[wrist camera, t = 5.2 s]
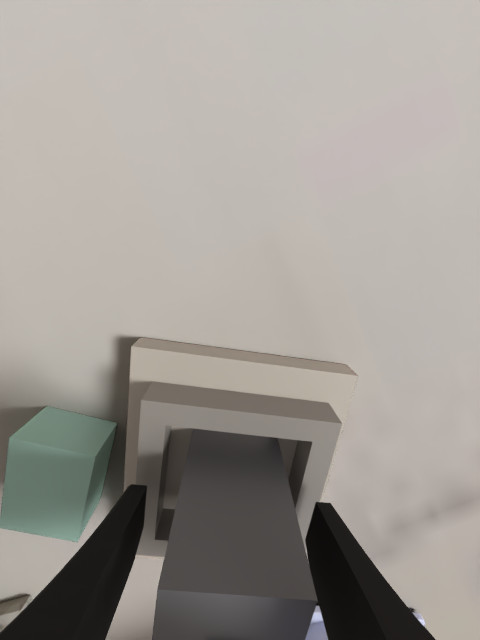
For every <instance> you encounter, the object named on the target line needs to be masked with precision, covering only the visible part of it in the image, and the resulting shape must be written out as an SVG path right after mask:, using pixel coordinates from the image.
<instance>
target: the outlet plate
mask: <svg viewBox="0 0 480 640" xmlns="http://www.w3.org/2000/svg"><path fill="white" fill-rule="evenodd" d="M357 379H358V375H357V374H356V373H355V372H354V371H353V370H352V369H351V368H350V367H349V366H348V365H345V364H337V363H330V362H322V361H315V360H307V359H300V358H292V357H285V356H277V355H270V354H262V353H255V352H247V351H240V350H232V349H225V348H217V347H210V346H202V345H195V344H187V343H180V342H172V341H165V340H157V339H150V338H142V337H141V338H140V339H138V340H137V341H136V342H135V343H134V344H133V345H132V346H131V360H130V378H129V397H128V416H127V434H126V453H125V472H124V490H123V493H124V492H125V490H126V489H127V487H128V486H129V485H131V484H135V485H146V486H147V494H146V506H145V519H144V528H143V531H142V535H141V538H140V542H139V546H138V549H137V553H136V556H135V557H137V558H150V559H163V560H164V558H165V553H166V549H167V544H168V540H169V535H170V531H171V526H172V521H173V517H174V512H175V508H176V503H177V499H178V494H179V490H180V485H181V481H182V476H183V472H184V467H185V462H186V458H187V453H188V449H189V444H190V440H191V435H192V431H193V429H202V430H211V431H220V432H229V433H238V434H247V435H256V436H265V437H274V438H278V441H279V445H280V449H281V453H282V458H283V462H284V466H285V470H286V474H287V478H288V482H289V486H290V490H291V494H292V498H293V502H294V506H295V510H296V514H297V519H298V523H299V527H300V531H301V535H302V539H303V543H304V547H305V551H306V555H307V549H306V542H305V539H306V535H307V532H308V528H309V524H310V521H311V517H312V514H313V510H314V507H315V503H316V502H322V500H323V496H324V493H325V490H326V486H327V483H328V479H329V476H330V472H331V469H332V465H333V462H334V458H335V455H336V451H337V448H338V445H339V441H340V438H341V434H342V431H343V427H344V424H345V420H346V417H347V413H348V410H349V407H350V403H351V400H352V396H353V393H354V389H355V386H356V382H357Z"/></svg>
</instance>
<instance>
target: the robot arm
mask: <svg viewBox="0 0 480 640" xmlns="http://www.w3.org/2000/svg"><path fill="white" fill-rule="evenodd" d="M146 494H147V486H146V485H135V484H131V485H129V486H128V487H127V489H126V490H125V492H124V493H123V495H122V496H121V498H120V499H119V500H118V502H117V503H116V504H115V506H114V507H113V508H112V510H111V511H110V512H109V514H108V515H107V516H106V518H105V519H104V520H103V521H102V523H101V524H100V525H99V526H98V528H97V529H96V530H95V531H94V533H93V534H92V535H91V536H90V537H89V539H88V540H87V541H86V542H85V544H84V545H83V546H82V547H81V548H80V549H79V551H78V552H77V553H76V554H75V555H74V556H73V557H72V558H71V560H70V561H69V562H68V563H67V564H66V565H65V566H64V568H63V569H62V570H61V571H60V572H59V573H58V574H57V575H56V576H55V577H54V579H53V580H52V581H51V582H50V583H49V584H48V585H47V586H46V587H45V588H44V589H43V590H42V591H41V592H40V593H39V594H38V595H37V597H36V598H35V599H34V600H33V601H32V602H31V603H30V604H29V605H28V606H27V607H26V608H25V609H24V610H23V611H22V612H21V613H20V614H19V615H18V616H17V617H16V618H15V619H14V620H13V621H12V622H10V623H9V624H8V625H7V626H6V627H5V628H4V629H3V630H2V631H1V632H0V640H105V638H106V636H107V633H108V630H109V628H110V625H111V622H112V619H113V617H114V614H115V611H116V609H117V606H118V603H119V601H120V598H121V595H122V592H123V590H124V587H125V584H126V582H127V579H128V576H129V573H130V571H131V568H132V565H133V562H134V560H135V556H136V553H137V549H138V546H139V542H140V538H141V535H142V531H143V528H144V519H145V506H146ZM305 542H306V549H307V555H308V561H309V566H310V571H311V575H312V580H313V584H314V588H315V592H316V596H317V600H318V603H319V606H316V608H315V611H314V614H313V617H312V620H311V623H310V626H309V629H308V632H307V635H306V639H305V640H435V638H434V637H433V636H432V635H431V634H430V633H429V632H428V630H427V629H426V628H425V627H424V626H425V621H424V619H423V618H422V616H421V614H419V613H414V612H411V611H410V610H409V608H408V607H407V606H406V605H405V604H404V602H403V601H402V600H401V599H400V597H399V596H398V595H397V594H396V592H395V591H394V590H393V589H392V587H391V586H390V585H389V584H388V582H387V581H386V580H385V578H384V577H383V576H382V574H381V573H380V572H379V571H378V569H377V568H376V566H375V565H374V564H373V562H372V561H371V560H370V558H369V557H368V556H367V554H366V553H365V552H364V550H363V549H362V547H361V546H360V545H359V543H358V542H357V540H356V539H355V538H354V536H353V535H352V533H351V532H350V531H349V529H348V528H347V526H346V525H345V523H344V522H343V520H342V519H341V518H340V516H339V515H338V513H337V512H336V510H335V509H334V508H333V506H332V505H331V503H323V502H316V503H315V507H314V510H313V514H312V517H311V521H310V524H309V528H308V532H307V535H306V539H305Z"/></svg>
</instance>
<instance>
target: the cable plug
mask: <svg viewBox="0 0 480 640" xmlns="http://www.w3.org/2000/svg"><path fill="white" fill-rule="evenodd" d="M116 427H117V423H115V422H111V421H107V420H103V419H99V418H94V417H90V416H86V415H82V414H78V413H73V412H69V411H65V410H61V409H57V408H52V407H48V406H46V407H45V408H44V409H43V410H42V411H40V412H39V413H38V414H37V415H36V416H34V417H33V418H32V419H31V420H30V421H29V422H27V423H26V424H25V425H24V426H23V427H21V428H20V429H19V430H18V431H17V432H15V433H14V434H13V435H12V436H11V437H9V445H8V454H7V462H6V471H5V480H4V489H3V498H2V507H1V516H0V528H3V529H8V530H14V531H19V532H25V533H30V534H36V535H41V536H47V537H52V538H57V539H63V540H68V541H74V542H78V540H79V538H80V536H81V534H82V533H83V531H84V529H85V527H86V525H87V523H88V521H89V519H90V517H91V515H92V514H93V512H94V510H95V508H96V506H97V504H98V502H99V500H100V498H101V494H102V490H103V485H104V481H105V476H106V472H107V467H108V463H109V458H110V454H111V449H112V445H113V440H114V436H115V432H116Z"/></svg>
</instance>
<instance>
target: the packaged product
mask: <svg viewBox="0 0 480 640" xmlns="http://www.w3.org/2000/svg"><path fill="white" fill-rule="evenodd" d="M33 600H34V599H33V598H32V597H31V595H28V596H24V597H20V598H17V599H13V600H10V601H6V602H3V603H0V632H1V631H2V630H3V629H4V628H5V627H6V626H7V625H8V624H9V623H10V622H12V621H13V620H14V619H15V618H16V617H17V616H18V615H19V614H20V613H21V612H22V611H23V610H24V609H25V608H26V607H27V606H28V605H29V604H30V603H31V602H32V601H33Z"/></svg>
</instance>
